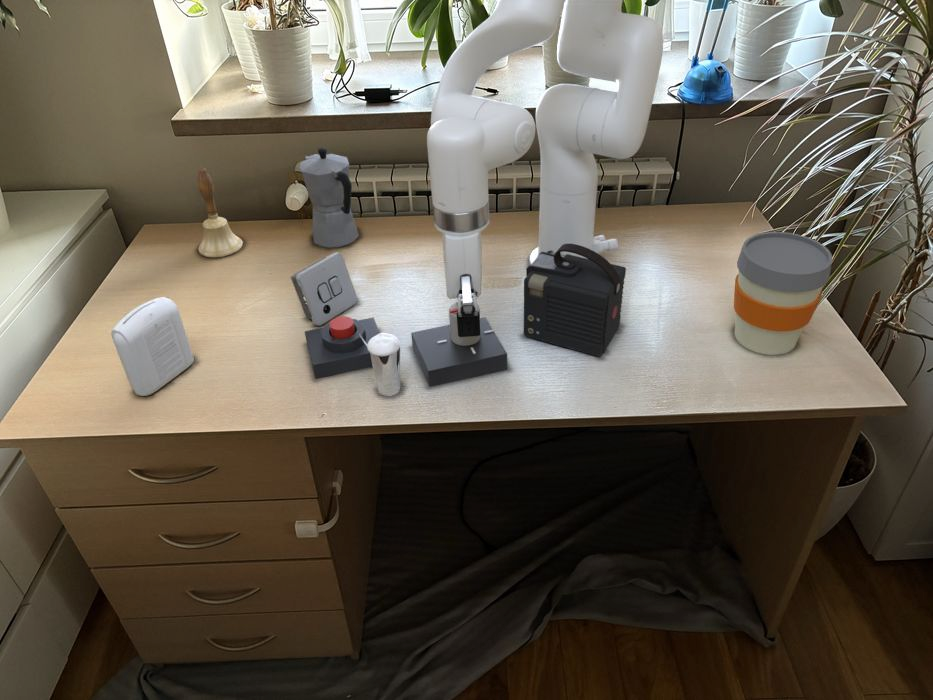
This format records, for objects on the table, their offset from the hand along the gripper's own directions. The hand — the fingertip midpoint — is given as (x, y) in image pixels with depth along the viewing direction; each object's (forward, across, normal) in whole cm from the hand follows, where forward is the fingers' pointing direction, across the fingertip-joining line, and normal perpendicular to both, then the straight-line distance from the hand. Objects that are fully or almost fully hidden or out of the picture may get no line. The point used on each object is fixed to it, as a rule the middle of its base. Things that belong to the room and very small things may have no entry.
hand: (467, 315), depth 111 cm
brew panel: (+6, +2, -2) cm, 7 cm away
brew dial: (+3, +1, -1) cm, 4 cm away
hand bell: (+7, -37, -46) cm, 59 cm away
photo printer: (+6, +3, -46) cm, 47 cm away
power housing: (+6, 0, -19) cm, 20 cm away
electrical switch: (+7, -13, -23) cm, 27 cm away
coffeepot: (+7, -38, -24) cm, 45 cm away
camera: (+7, -4, +16) cm, 18 cm away
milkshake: (+6, +8, -12) cm, 16 cm away
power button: (+2, -1, -19) cm, 19 cm away
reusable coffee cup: (+8, +1, +46) cm, 46 cm away
